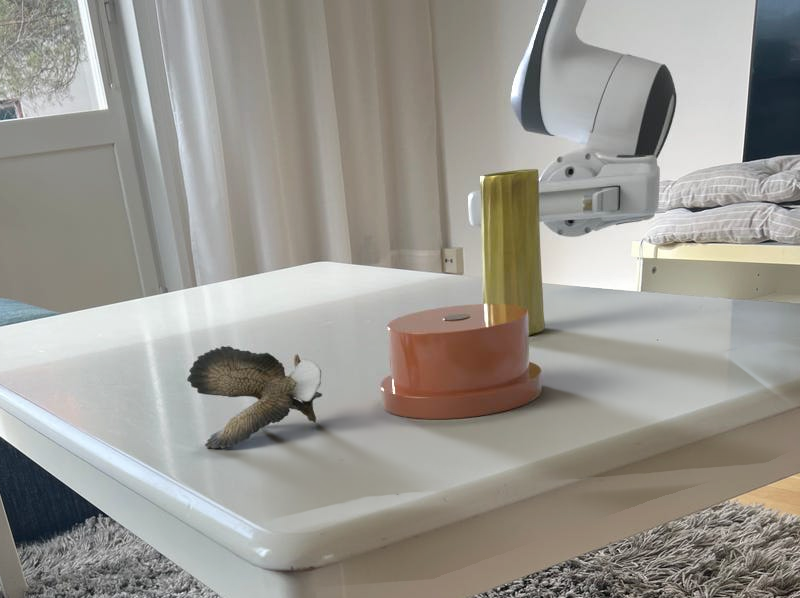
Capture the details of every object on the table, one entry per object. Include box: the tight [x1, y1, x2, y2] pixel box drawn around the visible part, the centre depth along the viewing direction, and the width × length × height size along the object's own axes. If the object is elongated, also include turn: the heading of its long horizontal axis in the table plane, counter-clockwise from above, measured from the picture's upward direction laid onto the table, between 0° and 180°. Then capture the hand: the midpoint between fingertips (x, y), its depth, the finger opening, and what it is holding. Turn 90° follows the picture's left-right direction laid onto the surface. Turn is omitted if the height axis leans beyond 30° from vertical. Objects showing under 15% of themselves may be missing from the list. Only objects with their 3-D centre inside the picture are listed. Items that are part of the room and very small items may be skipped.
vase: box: [479, 168, 546, 336], centre depth 92 cm, size 6×6×14 cm
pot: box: [379, 303, 543, 420], centre depth 75 cm, size 12×12×6 cm
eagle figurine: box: [186, 345, 323, 449], centre depth 72 cm, size 8×7×9 cm
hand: (543, 208), depth 100 cm, fingers open, 8 cm apart
